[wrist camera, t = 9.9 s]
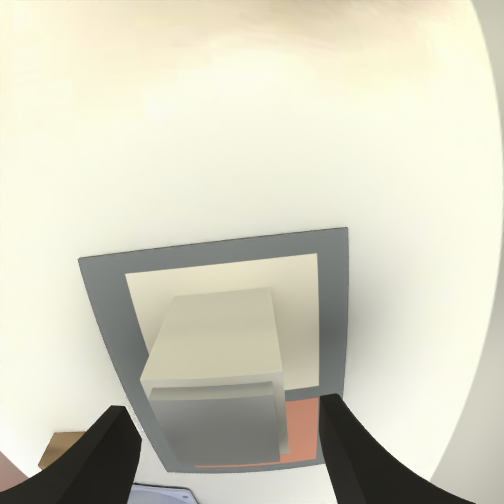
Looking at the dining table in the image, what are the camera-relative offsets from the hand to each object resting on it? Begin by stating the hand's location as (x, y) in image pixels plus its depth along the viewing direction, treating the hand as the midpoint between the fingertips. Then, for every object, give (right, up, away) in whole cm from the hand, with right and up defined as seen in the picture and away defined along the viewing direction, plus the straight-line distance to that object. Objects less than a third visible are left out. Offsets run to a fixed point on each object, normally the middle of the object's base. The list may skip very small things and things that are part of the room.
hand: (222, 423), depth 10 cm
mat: (0, -2, +7) cm, 7 cm away
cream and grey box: (0, +2, +5) cm, 6 cm away
